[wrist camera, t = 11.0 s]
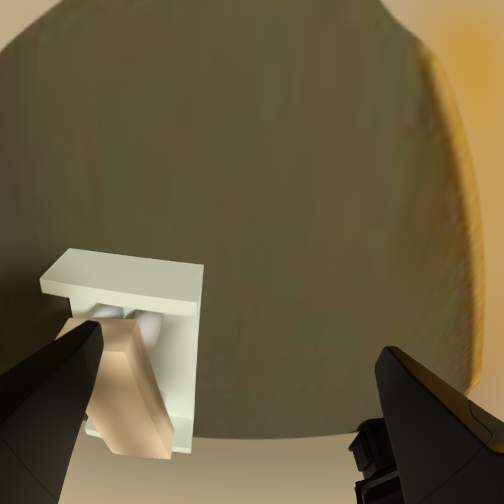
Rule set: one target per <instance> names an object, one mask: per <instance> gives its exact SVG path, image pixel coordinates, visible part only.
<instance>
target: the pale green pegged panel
mask: <svg viewBox="0 0 504 504" xmlns="http://www.w3.org/2000/svg"><path fill="white" fill-rule="evenodd" d="M203 269H204V265H199V264H191V263H182V262H174V261H165V260H157V259H149V258H141V257H133V256H125V255H117V254H109V253H101V252H94V251H86V250H79V249H71V248H69V249H68V250H67V251H66V252H65V253H64V254H63V255H62V256H61V257H60V258H59V259H58V260H57V261H56V262H55V263H54V264H53V265H52V266H51V267H50V268H49V269H48V270H47V271H46V272H45V273H44V274H43V275H42V276H41V278H40V284H41V289H42V293H47V294H52V295H57V296H62V297H67V298H69V299H70V304H71V310H72V315H73V318H83V319H138V323H139V326H140V330H141V334H142V337H143V340H144V344H145V347H146V350H147V354H148V357H149V360H150V363H151V366H152V369H153V372H154V375H155V378H156V381H157V384H158V387H159V390H160V393H161V396H162V399H163V401H164V404H165V407H166V410H167V412H168V415H169V418H170V420H171V423H172V425H173V428H174V438H173V445H172V451H176V452H184V453H191V445H192V433H193V422H194V405H195V383H196V364H197V347H198V332H199V318H200V305H201V292H202V280H203ZM85 431H86V433H87V434H89V435H93V436H97V437H101V438H102V436H101V435H100V433H99V432H98V430H97V429H96V427H95V426H94V424H93V423H92V421H91V420H90V418H89V417H88V420H87V423H86V426H85Z"/></svg>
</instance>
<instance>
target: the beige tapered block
mask: <svg viewBox="0 0 504 504" xmlns="http://www.w3.org/2000/svg"><path fill="white" fill-rule="evenodd" d="M86 320H93V321H98V322H100V324H101V327H102V333H103V340H104V349H103V353H102V357H101V361H100V365H99V369H98V373H97V377H96V381H95V385H94V389H93V392H92V395H91V398H90V401H89V404H88V406H87V409H86V413H87V415H88V416H89V418H90V420H91V421H92V423H93V424H94V426H95V427H96V429H97V430H98V432H99V433H100V435H101V436H102V438H103V439H104V441H105V442H106V444H107V445H108V446H109V448H110V449H111V451H112V452H113V453H116V454H122V455H130V456H139V457H150V458H161V459H171V453H172V445H173V438H174V428H173V425H172V423H171V420H170V418H169V415H168V412H167V410H166V407H165V404H164V401H163V399H162V396H161V393H160V390H159V387H158V384H157V381H156V378H155V375H154V372H153V369H152V366H151V363H150V360H149V357H148V354H147V350H146V347H145V344H144V340H143V337H142V334H141V330H140V326H139V323H138V319H83V318H69V319H68V321H67V322H66V324H65V325H64V327H63V328H62V330H61V332H60V333H59V335H58V336H57V338H59V337H61V336H62V335H64V334H65V333H67V332H69V331H70V330H72V329H73V328H75V327H77V326H78V325H80V324H81V323H83V322H85V321H86ZM57 338H56V339H57ZM56 339H55V340H56Z"/></svg>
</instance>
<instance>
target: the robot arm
mask: <svg viewBox="0 0 504 504" xmlns="http://www.w3.org/2000/svg"><path fill="white" fill-rule="evenodd" d="M103 349H104V340H103V333H102V327H101V324H100V322H98V321H93V320H86V321H85V322H83V323H81V324H80V325H78V326H77V327H75V328H73V329H72V330H70V331H69V332H67V333H65V334H64V335H62V336H61V337H59V338H57V339H56V340H54V341H53V342H51V343H50V344H48V345H46V346H45V347H43V348H42V349H40V350H39V351H37V352H35V353H34V354H32V355H31V356H29V357H28V358H26V359H25V360H23V361H21V362H20V363H18V364H17V365H15V366H14V367H12V368H11V369H9V371H6V372H4V373H3V374H1V375H0V504H58V501H59V498H60V494H61V490H62V487H63V483H64V479H65V476H66V472H67V468H68V465H69V461H70V458H71V455H72V451H73V449H74V445H75V442H76V439H77V436H78V433H79V429H80V427H81V424H82V421H83V418H84V415H85V412H86V409H87V406H88V404H89V401H90V398H91V395H92V392H93V389H94V385H95V381H96V377H97V373H98V369H99V365H100V361H101V357H102V353H103ZM375 375H376V381H377V386H378V391H379V397H380V403H381V408H382V412H383V415H384V419H375V420H369V421H367V422H366V423H365V425H364V426H363V428H362V429H361V431H360V432H359V434H358V435H357V436H356V438H355V439H354V441H353V442H352V443H351V445H350V446H349V451H353V454H354V458H355V461H356V464H357V467H358V470H359V471H360V472H361V471H362V473H363V476H364V480H362V481H358V482H356V483H355V484H356V487H355V492H356V497H357V504H504V422H502V421H501V420H499V419H497V418H496V417H494V416H493V415H491V414H490V413H488V412H486V411H485V410H484V409H482V408H481V407H479V406H478V405H476V404H475V403H474V402H472V401H471V400H468V398H467V397H465V396H464V395H463V394H461V393H460V392H458V391H457V390H456V389H454V388H453V387H452V386H450V385H449V384H447V383H446V382H445V381H443V380H442V379H441V378H439V377H438V376H436V375H435V374H434V373H432V372H431V371H429V370H428V369H427V368H425V367H424V366H423V365H421V364H420V363H418V362H417V361H416V360H414V359H413V358H411V357H410V356H409V355H407V354H406V353H405V352H403V351H402V350H400V349H399V348H398V347H396V346H386V347H384V348H383V350H382V352H381V354H380V356H379V358H378V360H377V362H376V364H375Z"/></svg>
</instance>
